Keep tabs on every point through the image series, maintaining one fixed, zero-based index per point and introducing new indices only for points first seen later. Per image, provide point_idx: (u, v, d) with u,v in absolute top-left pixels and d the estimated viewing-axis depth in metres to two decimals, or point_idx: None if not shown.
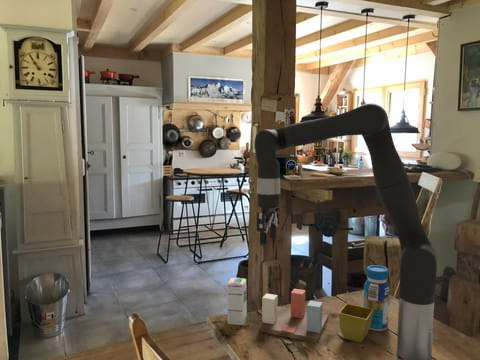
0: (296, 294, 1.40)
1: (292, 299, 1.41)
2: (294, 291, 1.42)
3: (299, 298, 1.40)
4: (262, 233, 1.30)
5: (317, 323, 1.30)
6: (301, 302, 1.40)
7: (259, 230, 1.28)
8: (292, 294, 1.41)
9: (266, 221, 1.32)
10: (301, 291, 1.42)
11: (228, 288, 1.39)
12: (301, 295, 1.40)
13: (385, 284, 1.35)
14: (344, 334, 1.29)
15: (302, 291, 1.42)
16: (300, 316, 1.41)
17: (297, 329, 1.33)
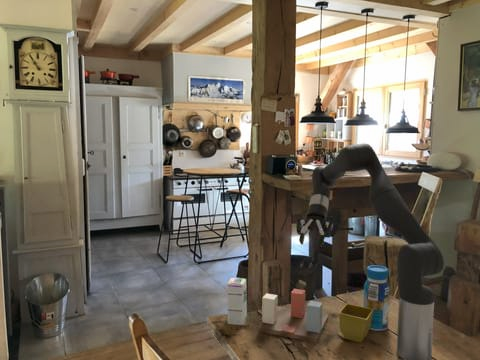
0: (296, 294, 1.40)
1: (292, 299, 1.41)
2: (294, 291, 1.42)
3: (299, 298, 1.40)
4: (300, 234, 1.60)
5: (317, 323, 1.30)
6: (301, 302, 1.40)
7: (297, 232, 1.62)
8: (292, 294, 1.41)
9: None
10: (301, 291, 1.42)
11: (228, 288, 1.39)
12: (301, 295, 1.40)
13: (385, 284, 1.35)
14: (344, 334, 1.29)
15: (302, 291, 1.42)
16: (300, 316, 1.41)
17: (297, 329, 1.33)
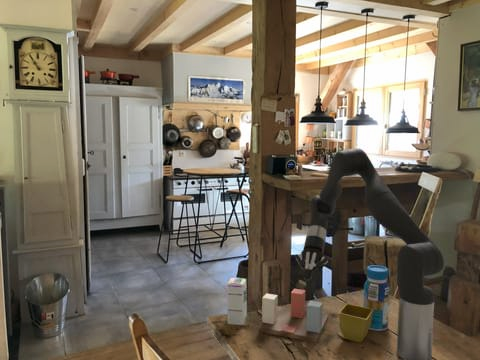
0: (296, 294, 1.40)
1: (292, 299, 1.41)
2: (294, 291, 1.42)
3: (299, 298, 1.40)
4: None
5: (317, 323, 1.30)
6: (301, 302, 1.40)
7: None
8: (292, 294, 1.41)
9: None
10: (301, 291, 1.42)
11: (228, 288, 1.39)
12: (301, 295, 1.40)
13: (385, 284, 1.35)
14: (344, 334, 1.29)
15: (302, 291, 1.42)
16: (300, 316, 1.41)
17: (297, 329, 1.33)
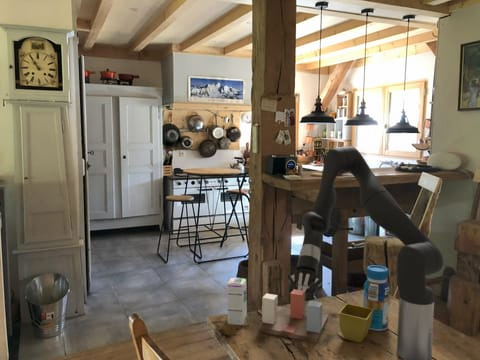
0: (296, 295, 1.40)
1: (291, 300, 1.40)
2: (293, 292, 1.41)
3: (298, 299, 1.39)
4: None
5: (317, 323, 1.30)
6: (300, 303, 1.39)
7: None
8: (291, 295, 1.40)
9: None
10: (300, 292, 1.41)
11: (228, 288, 1.39)
12: (300, 296, 1.39)
13: (385, 284, 1.35)
14: (344, 334, 1.29)
15: (301, 292, 1.41)
16: (299, 317, 1.40)
17: (297, 329, 1.33)
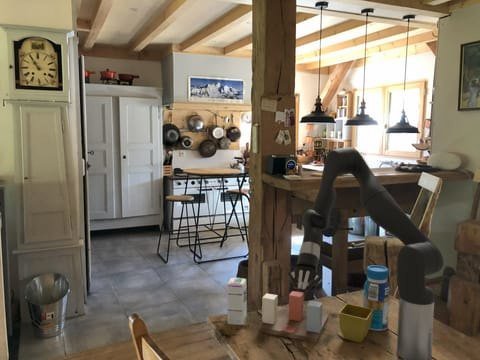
0: (294, 297, 1.38)
1: (290, 302, 1.39)
2: (292, 294, 1.40)
3: (297, 301, 1.38)
4: (297, 289, 1.49)
5: (317, 323, 1.30)
6: (299, 305, 1.38)
7: (294, 286, 1.50)
8: (290, 297, 1.39)
9: None
10: (299, 294, 1.40)
11: (228, 288, 1.39)
12: (299, 298, 1.38)
13: (385, 284, 1.35)
14: (344, 334, 1.29)
15: (300, 294, 1.40)
16: (298, 319, 1.39)
17: (297, 329, 1.33)
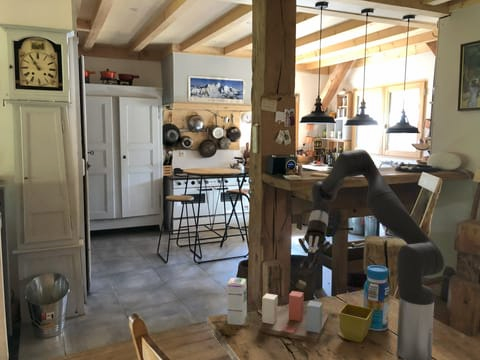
0: (294, 297, 1.38)
1: (290, 302, 1.39)
2: (292, 294, 1.40)
3: (297, 301, 1.38)
4: None
5: (317, 323, 1.30)
6: (299, 305, 1.38)
7: (304, 250, 1.61)
8: (290, 297, 1.39)
9: None
10: (299, 294, 1.40)
11: (228, 288, 1.39)
12: (299, 298, 1.38)
13: (385, 284, 1.35)
14: (344, 334, 1.29)
15: (300, 294, 1.40)
16: (298, 319, 1.39)
17: (297, 329, 1.33)
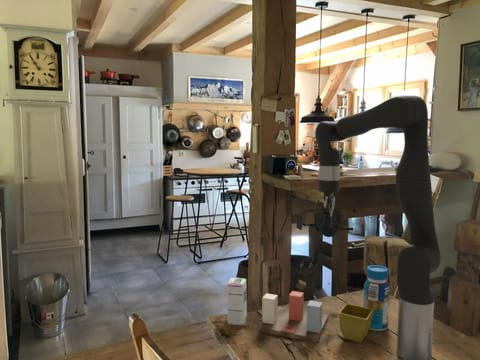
0: (294, 297, 1.38)
1: (290, 302, 1.39)
2: (292, 294, 1.40)
3: (297, 301, 1.38)
4: (327, 217, 1.47)
5: (317, 323, 1.30)
6: (299, 305, 1.38)
7: (325, 214, 1.46)
8: (290, 297, 1.39)
9: None
10: (299, 294, 1.40)
11: (228, 288, 1.39)
12: (299, 298, 1.38)
13: (385, 284, 1.35)
14: (344, 334, 1.29)
15: (300, 294, 1.40)
16: (298, 319, 1.39)
17: (297, 329, 1.33)
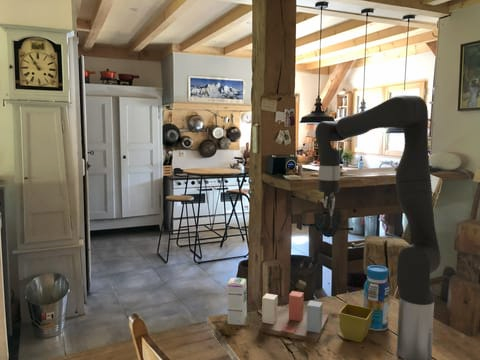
0: (294, 297, 1.38)
1: (290, 302, 1.39)
2: (292, 294, 1.40)
3: (297, 301, 1.38)
4: (327, 216, 1.47)
5: (317, 323, 1.30)
6: (299, 305, 1.38)
7: (325, 214, 1.46)
8: (290, 297, 1.39)
9: None
10: (299, 294, 1.40)
11: (228, 288, 1.39)
12: (299, 298, 1.38)
13: (385, 284, 1.35)
14: (344, 334, 1.29)
15: (300, 294, 1.40)
16: (298, 319, 1.39)
17: (297, 329, 1.33)
